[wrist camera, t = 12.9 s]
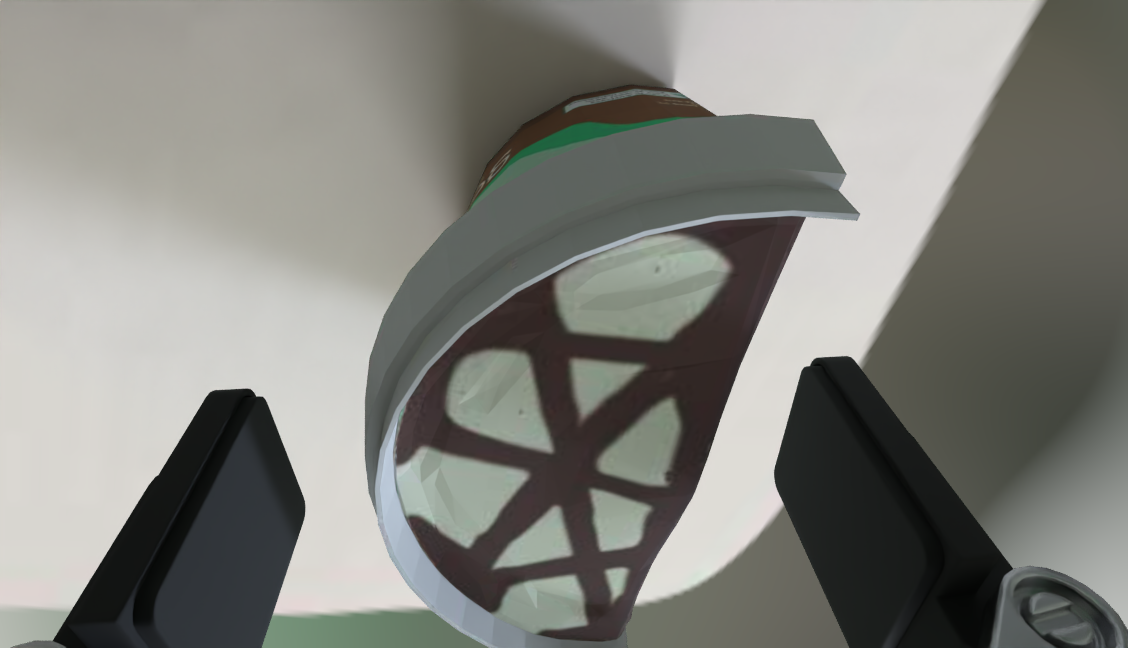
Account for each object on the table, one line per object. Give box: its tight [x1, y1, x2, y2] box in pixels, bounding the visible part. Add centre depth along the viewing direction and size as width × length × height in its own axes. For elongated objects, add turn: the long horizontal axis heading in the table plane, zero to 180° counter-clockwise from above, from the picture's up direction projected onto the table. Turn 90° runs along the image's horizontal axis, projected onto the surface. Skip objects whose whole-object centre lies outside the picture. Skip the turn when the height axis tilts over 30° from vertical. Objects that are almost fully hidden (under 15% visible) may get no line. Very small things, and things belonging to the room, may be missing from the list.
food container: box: [365, 85, 860, 648], centre depth 14 cm, size 12×6×10 cm, turn 169°
